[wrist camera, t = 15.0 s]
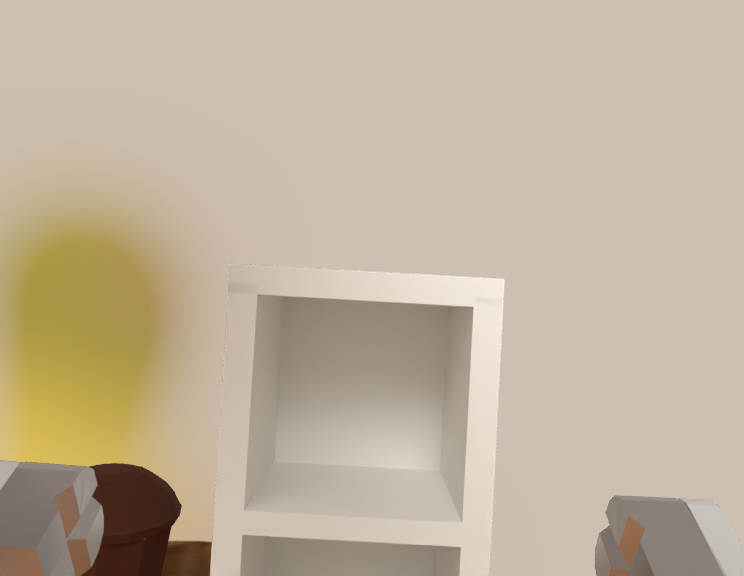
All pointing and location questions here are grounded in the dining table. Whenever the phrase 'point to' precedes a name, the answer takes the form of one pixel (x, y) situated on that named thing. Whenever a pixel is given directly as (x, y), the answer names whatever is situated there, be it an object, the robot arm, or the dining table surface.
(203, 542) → the dining table surface
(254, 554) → the tall white box
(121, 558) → the muffin
